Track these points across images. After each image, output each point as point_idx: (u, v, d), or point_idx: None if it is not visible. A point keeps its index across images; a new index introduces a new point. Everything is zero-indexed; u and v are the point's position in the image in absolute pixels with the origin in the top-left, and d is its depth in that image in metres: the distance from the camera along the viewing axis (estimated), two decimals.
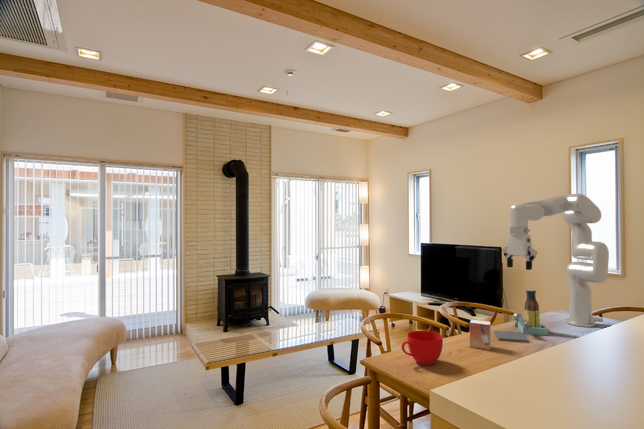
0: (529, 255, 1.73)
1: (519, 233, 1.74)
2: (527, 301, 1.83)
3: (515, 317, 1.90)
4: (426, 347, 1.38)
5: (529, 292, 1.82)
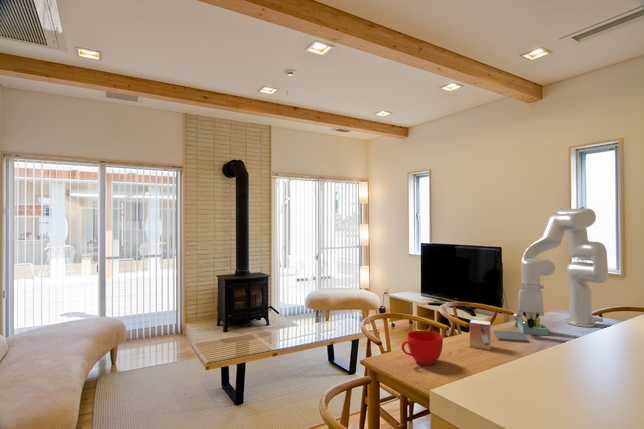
0: None
1: (537, 290, 1.71)
2: None
3: (515, 317, 1.90)
4: (426, 347, 1.38)
5: None
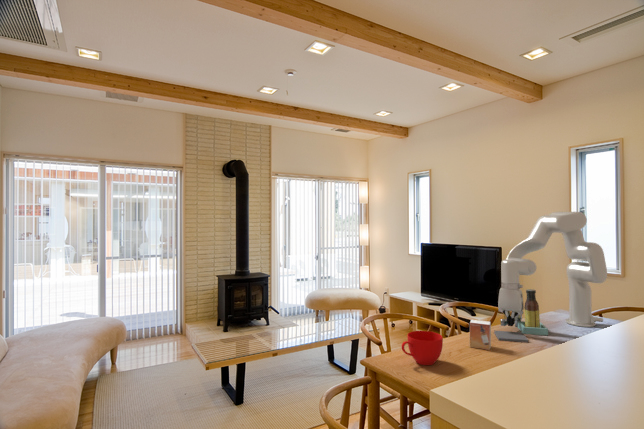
0: (515, 312, 1.78)
1: (514, 289, 1.75)
2: (527, 301, 1.83)
3: None
4: (426, 347, 1.38)
5: (529, 292, 1.82)
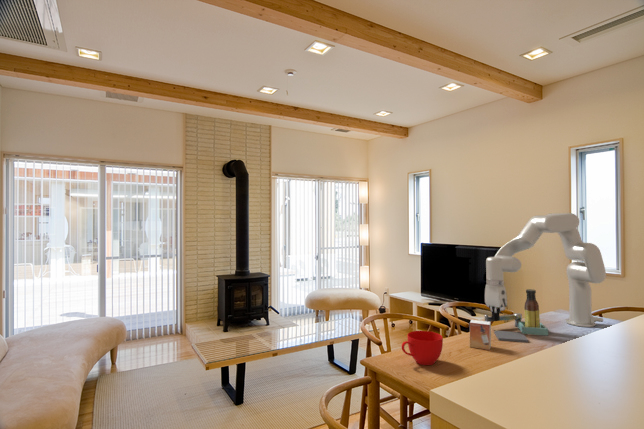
0: (499, 308, 1.83)
1: (494, 285, 1.82)
2: (527, 301, 1.83)
3: None
4: (426, 347, 1.38)
5: (529, 292, 1.82)
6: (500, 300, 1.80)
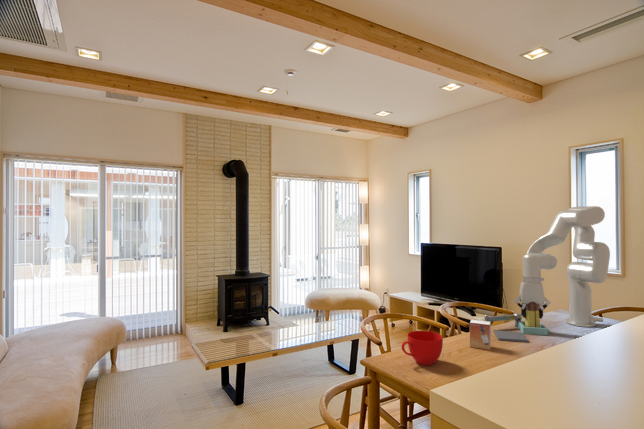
0: None
1: (538, 283, 1.80)
2: None
3: None
4: (426, 347, 1.38)
5: None
6: (544, 297, 1.80)
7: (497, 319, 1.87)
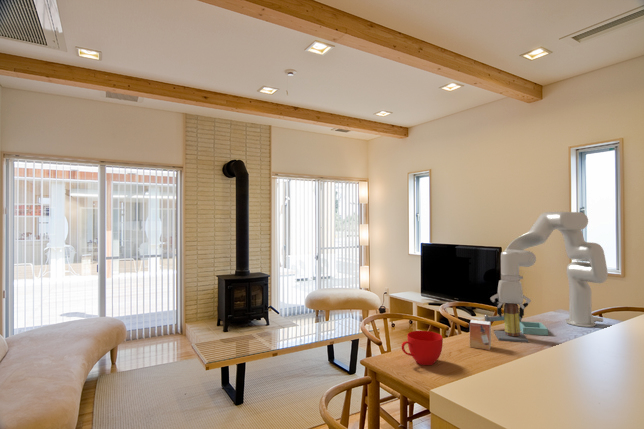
0: None
1: (517, 281, 1.71)
2: (506, 303, 1.74)
3: None
4: (426, 347, 1.38)
5: None
6: (522, 295, 1.71)
7: (497, 319, 1.87)
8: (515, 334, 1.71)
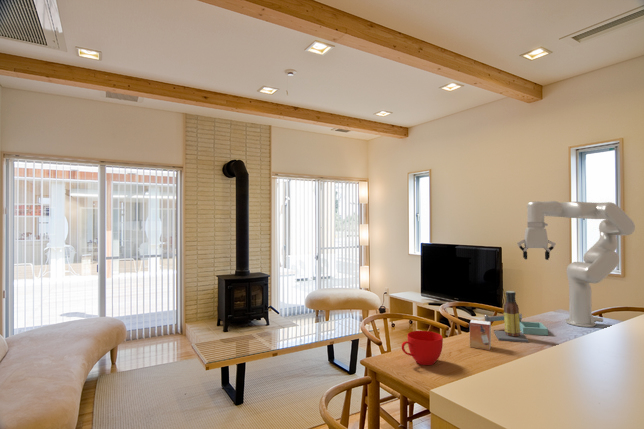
0: None
1: (542, 227, 1.91)
2: (506, 303, 1.74)
3: None
4: (426, 347, 1.38)
5: (508, 294, 1.73)
6: (547, 240, 1.91)
7: (497, 319, 1.87)
8: (515, 334, 1.71)
